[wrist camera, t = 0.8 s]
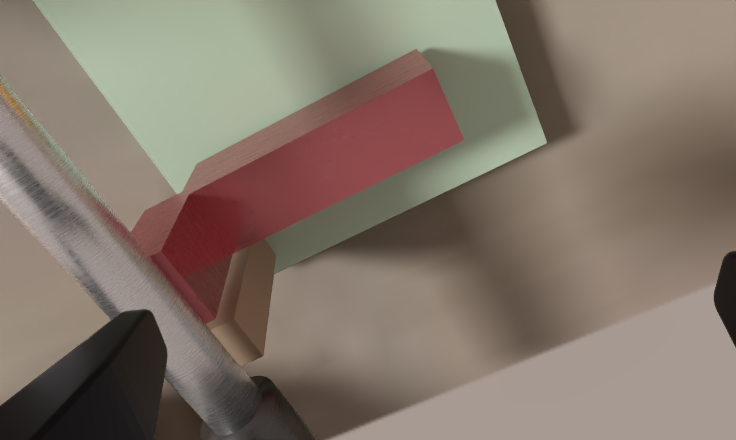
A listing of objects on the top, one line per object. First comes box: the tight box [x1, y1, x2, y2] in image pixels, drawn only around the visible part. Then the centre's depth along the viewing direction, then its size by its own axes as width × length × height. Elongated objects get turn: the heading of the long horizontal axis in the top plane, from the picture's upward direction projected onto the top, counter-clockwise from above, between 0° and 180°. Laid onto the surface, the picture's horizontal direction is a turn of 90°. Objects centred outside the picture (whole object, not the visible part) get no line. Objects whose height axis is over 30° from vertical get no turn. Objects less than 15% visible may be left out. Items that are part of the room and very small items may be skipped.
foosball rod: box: [0, 49, 464, 440], centre depth 15 cm, size 10×26×8 cm, turn 26°
